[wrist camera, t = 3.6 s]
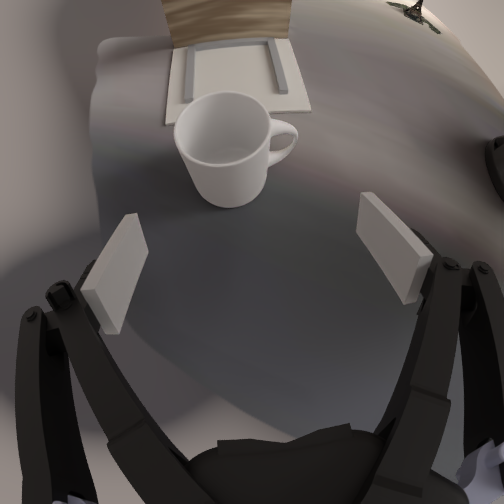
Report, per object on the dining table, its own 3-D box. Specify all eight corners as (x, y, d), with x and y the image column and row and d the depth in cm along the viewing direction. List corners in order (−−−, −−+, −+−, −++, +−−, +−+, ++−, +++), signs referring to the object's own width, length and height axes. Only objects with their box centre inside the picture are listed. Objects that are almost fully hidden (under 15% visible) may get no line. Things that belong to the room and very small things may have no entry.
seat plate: (311, 112, 35) (312, 106, 33) (166, 125, 34) (163, 119, 33) (288, 40, 38) (289, 34, 36) (174, 51, 38) (172, 45, 36)
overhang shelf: (296, 63, 37) (312, -40, 17) (171, 75, 36) (138, -25, 17) (285, 32, 38) (294, -56, 19) (175, 42, 38) (152, -44, 18)
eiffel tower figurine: (442, 35, 42) (460, 5, 29) (422, 34, 41) (441, -1, 28) (406, 5, 45) (419, -25, 31) (384, 3, 44) (396, -31, 31)
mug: (302, 193, 32) (322, 146, 22) (203, 218, 32) (180, 179, 21) (281, 135, 34) (290, 78, 23) (189, 156, 33) (168, 103, 23)
